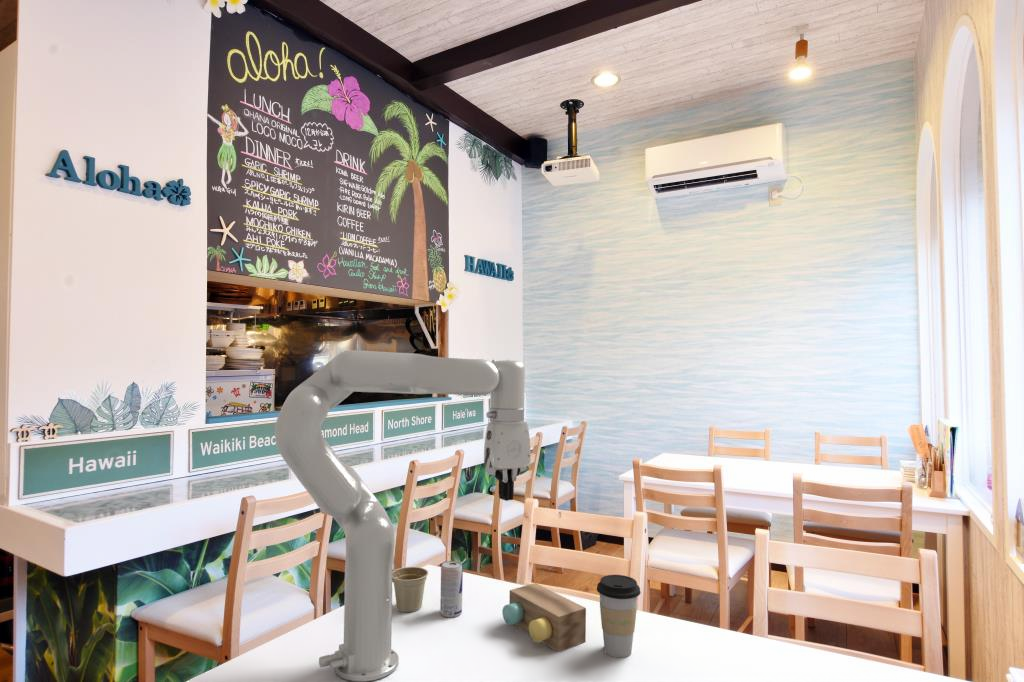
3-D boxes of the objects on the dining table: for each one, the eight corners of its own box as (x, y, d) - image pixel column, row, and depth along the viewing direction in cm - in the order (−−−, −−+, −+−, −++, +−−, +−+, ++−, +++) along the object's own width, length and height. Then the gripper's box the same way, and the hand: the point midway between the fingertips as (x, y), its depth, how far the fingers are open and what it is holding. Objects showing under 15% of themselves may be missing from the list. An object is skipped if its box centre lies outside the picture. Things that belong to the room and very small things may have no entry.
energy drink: (463, 609, 150) (464, 561, 151) (459, 618, 145) (460, 568, 145) (442, 608, 151) (443, 560, 151) (438, 617, 146) (438, 567, 146)
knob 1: (513, 628, 137) (513, 608, 137) (502, 621, 140) (502, 602, 140) (550, 616, 143) (550, 597, 143) (538, 610, 147) (538, 591, 147)
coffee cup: (607, 664, 124) (607, 591, 125) (589, 643, 134) (589, 575, 134) (648, 658, 127) (648, 587, 127) (627, 638, 136) (628, 571, 136)
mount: (558, 651, 129) (558, 616, 130) (509, 621, 144) (509, 590, 144) (585, 641, 134) (585, 608, 134) (535, 613, 149) (535, 583, 149)
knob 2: (541, 645, 129) (541, 625, 129) (528, 637, 132) (528, 617, 132) (578, 632, 135) (579, 612, 135) (565, 625, 139) (566, 605, 139)
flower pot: (382, 612, 148) (383, 577, 148) (400, 598, 157) (401, 564, 157) (417, 618, 145) (418, 582, 145) (433, 602, 154) (434, 569, 154)
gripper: (488, 419, 126) (487, 507, 125) (543, 415, 135) (542, 498, 134) (469, 416, 132) (468, 500, 131) (523, 413, 141) (522, 491, 140)
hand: (506, 498), depth 133 cm, fingers closed
